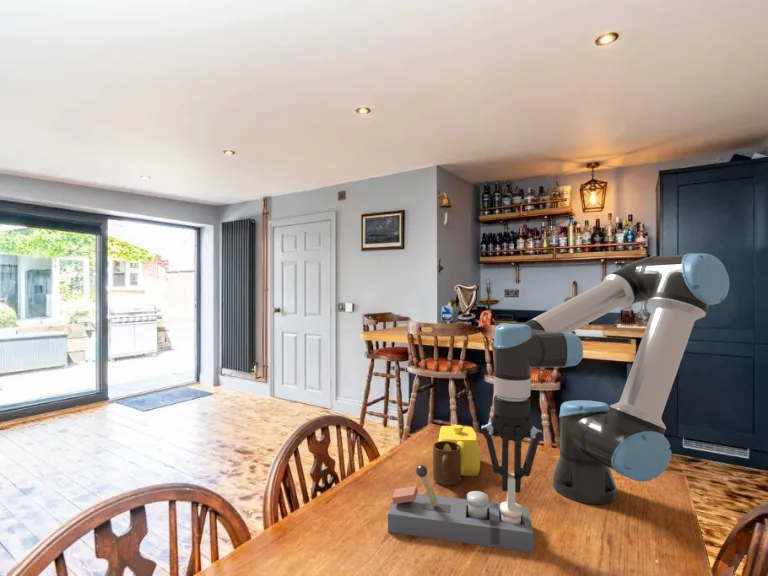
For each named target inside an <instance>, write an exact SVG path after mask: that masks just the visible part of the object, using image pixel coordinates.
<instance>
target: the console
mask: <svg viewBox="0 0 768 576" xmlns="http://www.w3.org/2000/svg"><path fill="white" fill-rule="evenodd" d="M435 497H436V499H437V501H438V503H437V506H434V507H433V506H432V504H431V501H430V499H429V496H428V494H424V493H417V496H416V500H415V501H411V502H404V503H397V504H394V503H393V502H391V506H390V508H389V511H388V512H387V533H393V534H398V535H406V536H414V537H420V538H427V539H434V540H441V541H449V542H453V543H461V544H463V543H464V544H468V545H476V546H477V545H478V546H483V547H488V548H489V547H491V548H498V549H505V550H509V551H518V552H525V553H532V554H534V547H535V546H534V545H535V544H534V540H535V538H534V537H535V536H534V535H535V533H534V527H533V523H532V519H531V515H530V509H529V507H528V506H523V505H521V507H522V517H521V524H513V523H505V522H501V513H500V504H501V503H499V502H492V501H491V502H490V501H489V504H488V505H487V520H482V519H474V518H469V517H468V502H467V498H466V499H465V498H457V497H450V496H449V497H448V496H442V495H441V496H439V495H435Z"/></svg>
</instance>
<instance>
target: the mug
mask: <svg viewBox="0 0 768 576" xmlns="http://www.w3.org/2000/svg"><path fill="white" fill-rule="evenodd" d="M445 444H449V446H450V447H451V450H452V451H444V450H443V448H444V445H445ZM432 448H433V450H432V478H433V480H434V481H435V483H436V484H439V485H442V486H448V487H449V486H455V485H457V484H459V482H460V481H461V477H462V476H461V451H460V446H459V445H458V444H457V443H454V442H450V441H440V442H438V441H437V442H435V443H433V447H432Z"/></svg>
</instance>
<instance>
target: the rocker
mask: <svg viewBox="0 0 768 576" xmlns="http://www.w3.org/2000/svg"><path fill="white" fill-rule="evenodd" d="M418 492H419V491H418V487H417V485H415V486H407V487H402V488H401V487H400V488H396V489H395V490H394V492H393V494H392V503H394V504H397V503H404V502H411V501H415V500H416V496H417V494H419V493H418Z"/></svg>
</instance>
